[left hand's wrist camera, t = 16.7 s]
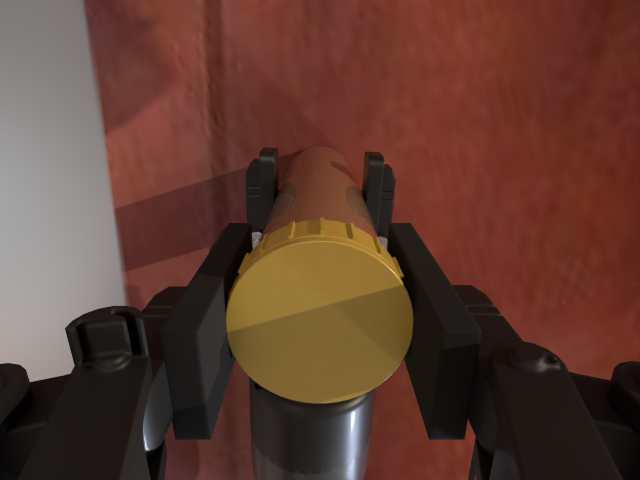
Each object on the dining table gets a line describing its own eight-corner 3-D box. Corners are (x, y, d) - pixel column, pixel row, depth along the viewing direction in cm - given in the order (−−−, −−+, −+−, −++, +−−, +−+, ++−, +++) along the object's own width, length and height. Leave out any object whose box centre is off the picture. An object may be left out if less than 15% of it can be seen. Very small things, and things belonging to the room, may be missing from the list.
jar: (284, 210, 27) (235, 380, 11) (287, 143, 25) (235, 232, 10) (350, 215, 27) (391, 390, 11) (357, 148, 26) (415, 246, 10)
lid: (381, 378, 13) (389, 418, 11) (225, 353, 12) (211, 391, 11) (424, 235, 11) (442, 259, 9) (246, 201, 11) (234, 220, 9)
